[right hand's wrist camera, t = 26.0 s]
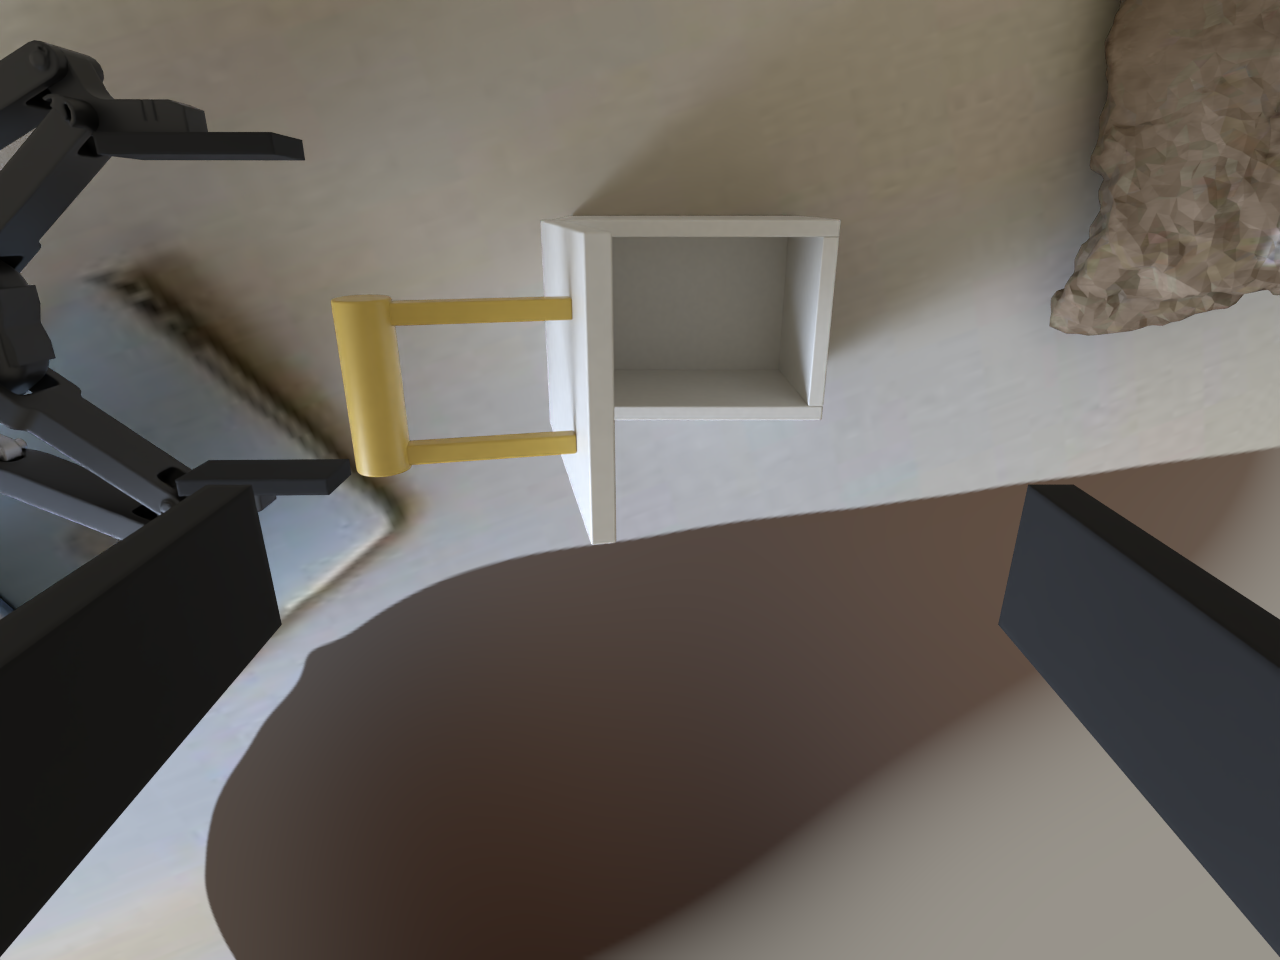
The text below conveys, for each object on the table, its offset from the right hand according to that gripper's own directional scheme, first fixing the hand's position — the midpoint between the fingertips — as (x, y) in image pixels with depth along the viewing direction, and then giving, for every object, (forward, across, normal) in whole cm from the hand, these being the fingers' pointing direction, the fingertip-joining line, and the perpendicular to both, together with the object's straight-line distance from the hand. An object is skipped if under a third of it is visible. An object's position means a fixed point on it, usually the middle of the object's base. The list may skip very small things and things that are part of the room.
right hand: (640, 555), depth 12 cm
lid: (+17, -2, 0) cm, 17 cm away
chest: (+34, +3, 0) cm, 34 cm away
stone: (+34, +31, +9) cm, 47 cm away
